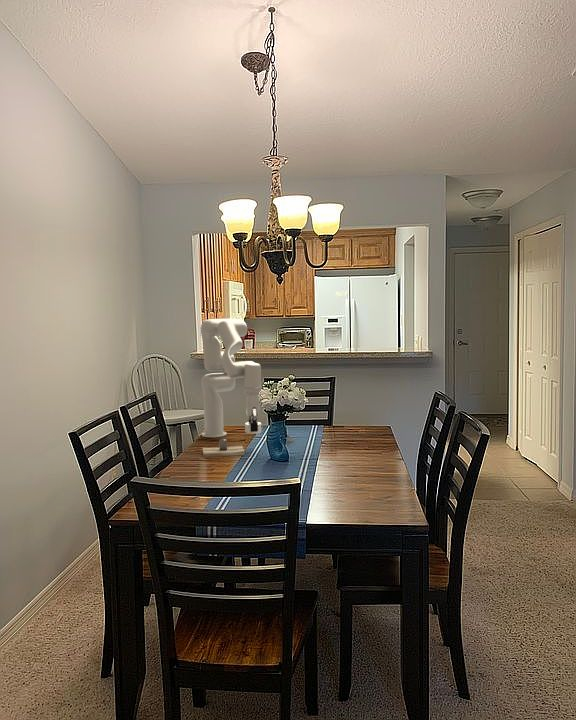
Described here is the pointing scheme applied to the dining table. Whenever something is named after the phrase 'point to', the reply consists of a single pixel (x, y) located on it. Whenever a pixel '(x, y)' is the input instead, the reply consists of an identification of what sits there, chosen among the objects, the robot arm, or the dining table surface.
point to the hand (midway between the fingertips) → (253, 429)
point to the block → (217, 452)
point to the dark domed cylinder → (223, 444)
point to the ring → (248, 428)
